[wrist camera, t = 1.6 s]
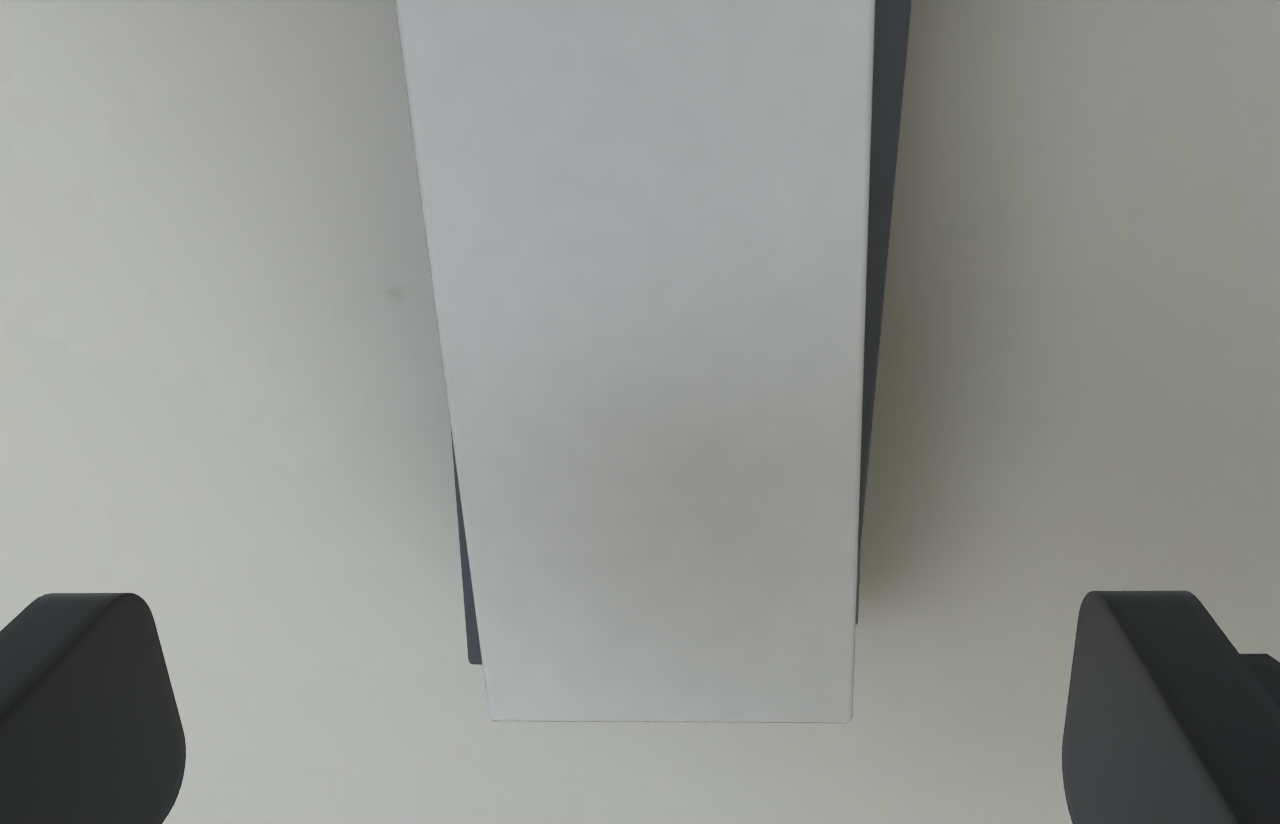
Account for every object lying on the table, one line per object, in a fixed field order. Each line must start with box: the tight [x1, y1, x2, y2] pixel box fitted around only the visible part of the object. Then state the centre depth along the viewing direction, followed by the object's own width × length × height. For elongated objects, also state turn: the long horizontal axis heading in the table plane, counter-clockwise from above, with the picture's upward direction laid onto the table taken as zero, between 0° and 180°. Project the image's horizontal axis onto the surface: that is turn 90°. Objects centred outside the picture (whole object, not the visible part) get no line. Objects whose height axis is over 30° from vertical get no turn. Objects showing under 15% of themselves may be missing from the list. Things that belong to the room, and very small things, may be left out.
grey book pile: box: [451, 0, 912, 665], centre depth 18 cm, size 13×8×3 cm, turn 3°
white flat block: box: [395, 0, 875, 723], centre depth 16 cm, size 12×6×2 cm, turn 3°
